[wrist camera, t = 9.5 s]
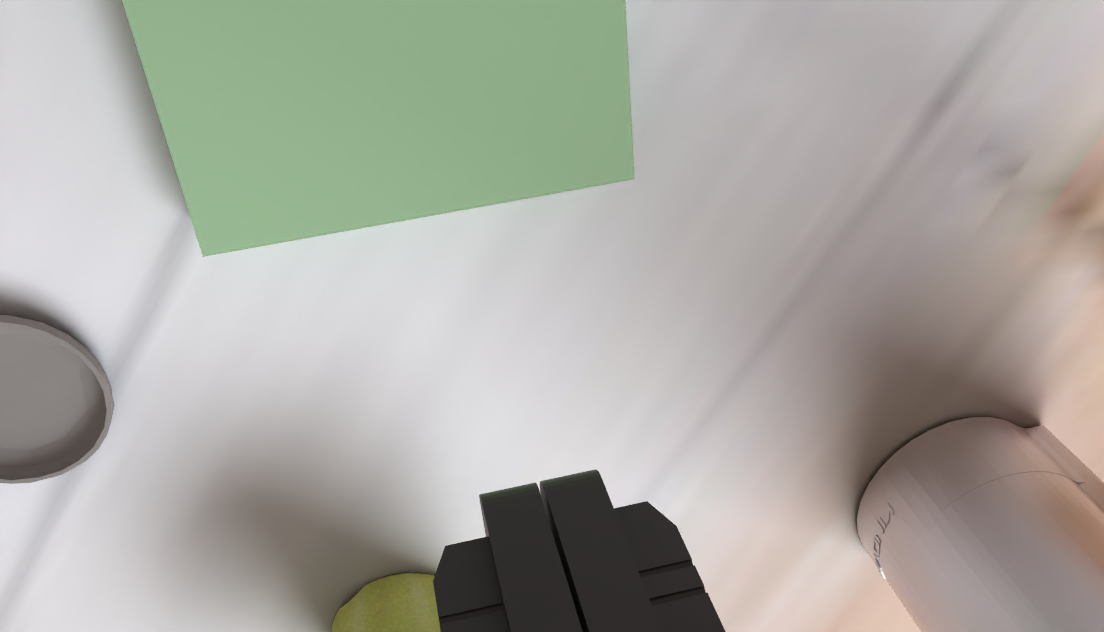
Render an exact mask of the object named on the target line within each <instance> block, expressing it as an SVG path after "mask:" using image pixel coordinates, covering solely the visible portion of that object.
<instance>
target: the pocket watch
mask: <svg viewBox="0 0 1104 632" xmlns="http://www.w3.org/2000/svg"><path fill="white" fill-rule="evenodd" d="M113 409H114V402H113V397H112V389H111V385H110V383H109V380H108V377H107V375H106V372H105V371H104V369H103V368H102V366H101V365H100V363H99V362H98V360H97V359H96V357H95V356H93V355H92V354H91V353H90V352H89V351H88V350H87V349H86V348H85V347H84V346H83V345H82V344H81V343H79V342H78V341H77V340H75V339H74V338H72V337H71V336H69V335H68V334H66V333H65V332H62V331H60V330H58V329H56V328H54V327H52V326H49V325H47V324H45V323H43V322H39V321H35V320H30V319H25V318H21V317H16V316H12V315H0V483H11V484H12V483H31V482H35V481H39V480H43V479H47V478H51V477H55V476H58V475H62V474H64V473H65V472H67V471H69V470H71V469H73V468H75V467H77V466H78V465H80V464H82V463H83V462H85V461H86V460H87V459H88V458H89V457H90V456H91V455H92V454H93V453H94V452H95V451H96V450H97V449H98V448H99V447H100V445H101V444H102V442H103V440H104V439H105V437H106V435H107V432H108V429H109V426H110V423H111V419H112V414H113Z"/></svg>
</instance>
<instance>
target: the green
mask: <svg viewBox="0 0 1104 632" xmlns="http://www.w3.org/2000/svg"><path fill="white" fill-rule="evenodd" d="M122 3H123V6H124V9H125V12H126V15H127V18H128V22H129V25H130V28H131V31H132V34H133V37H134V41H135V44H136V47H137V50H138V53H139V56H140V59H141V63H142V66H143V69H144V72H145V75H146V78H147V81H148V85H149V88H150V91H151V94H152V97H153V100H154V104H155V107H156V110H157V113H158V116H159V119H160V122H161V126H162V129H163V132H164V135H165V138H166V141H167V144H168V148H169V151H170V154H171V157H172V160H173V163H174V167H175V170H176V173H177V176H178V179H179V182H180V185H181V189H182V192H183V195H184V198H185V201H186V204H187V207H188V211H189V214H190V217H191V220H192V223H193V226H194V229H195V233H196V236H197V239H198V242H199V245H200V248H201V252H202V255H203V257H204V256H209V255H215V254H221V253H226V252H232V251H237V250H243V249H248V248H254V247H259V246H265V245H271V244H276V243H282V242H287V241H293V240H298V239H304V238H309V237H315V236H321V235H326V234H332V233H337V232H343V231H348V230H354V229H360V228H365V227H371V226H376V225H382V224H387V223H393V222H398V221H404V220H410V219H415V218H421V217H426V216H432V215H437V214H443V213H448V212H454V211H460V210H465V209H471V208H476V207H482V206H487V205H493V204H499V203H504V202H510V201H515V200H521V199H526V198H532V197H537V196H543V195H549V194H554V193H560V192H565V191H571V190H576V189H582V188H587V187H593V186H599V185H604V184H610V183H615V182H621V181H626V180H632V179H634V163H633V144H632V124H631V105H630V85H629V65H628V46H627V26H626V7H625V0H122Z"/></svg>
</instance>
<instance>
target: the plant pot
mask: <svg viewBox="0 0 1104 632" xmlns="http://www.w3.org/2000/svg"><path fill="white" fill-rule="evenodd" d="M434 577H435V576H433V575H428V574H421V573H404V574H397V575H392V576H388V577H384V578H381V579H378V580H375V581H373V582H371V583H369V584H367V585H365V586H364V587H363V588H362V589H361V590H360V591H359V592H358V593H357V594H356V595H355V596H354V597H353V598H352V599H351V600H350V601H349V602H348V603H346V604H345V605H344V606H342V607H341V608H339V610H338V612H337V614H336V616H335V618H334V621H333V625H332V632H441V631H440V623H439V618H438V611H437V605H436V598H435V591H434V585H433V580H434Z"/></svg>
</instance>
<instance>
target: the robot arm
mask: <svg viewBox="0 0 1104 632" xmlns="http://www.w3.org/2000/svg"><path fill="white" fill-rule="evenodd" d="M540 493H541V494H540ZM479 497H480V504H481V510H482V516H483V521H484V527H485V533H486V537H484V538H479V539H475V540H470V541H466V542H461V543H457V544H452V545H448V546H445V548H444V551H443V554H442V557H441V560H440V563H439V565H438V568H437V571H436V574H435V577H434V580H433V585H434V591H435V598H436V605H437V611H438V618H439V623H440V631H441V632H725V630H724V628H723V625H722V623H721V621H720V619H719V617H718V615H717V613H716V610H715V608H714V606H713V604H712V602H711V600H710V597H709V595H708V593H706V592H705V589H704V585H703V582H702V580H701V578H700V576H699V574H698V572H697V569H696V567H695V565H694V566H693V564H692V559H691V557H690V554H689V552H688V550H687V548H686V546H685V544H684V541H683V539H682V537H681V535H680V533H679V531H678V529H677V526H676V525H674V524H673V523H672V522H671V521H670V520H668V519H667V518H666V517H665V516H664V515H663V514H661V513H660V512H659V511H658V510H657V509H656V508H654V507H653V506H652V505H651V504H650V503H648V502H647V501H646V502H642V503H637V504H633V505H628V506H624V507H619V508H613V506H612V503H611V501H610V498H609V496H608V493H607V491H606V488H605V485H604V483H603V480H602V478H601V476H600V474H599V472H598V471H597V470H591V471H586V472H582V473H577V474H572V475H568V476H563V477H558V478H554V479H549V480H544V481H540V491H539V488H538V486H537V484H536V483H532V484H527V485H522V486H518V487H513V488H508V489H504V490H499V491H494V492H490V493H485V494H480V495H479ZM857 531H858V534H859V537H860V540H861V543H862V545H863V546H864V548H865V549H866V551H867V552H868V554H869V555H870V556H871V558H872V559H873V561H874V562H875V564H876V566H877V568H878V570H879V572H880V573H881V575H882V576H883V577H884V579H886V580H887V582H888V583H889V584H890V586H891V587H892V589H893V590H894V592H895V593H896V595H897V596H898V598H899V599H900V600H901V602H902V603H903V605H904V607H905V608H906V610H907V611H908V613H909V614H910V616H911V617H912V618H913V620H914V621H915V623H916V624H917V626H918V627H919V629H920V630H921V632H1104V483H1103V482H1102V481H1101V480H1100V479H1099V478H1098V477H1097V476H1096V475H1095V474H1094V473H1093V472H1092V471H1091V470H1090V469H1089V468H1088V467H1087V466H1086V465H1085V464H1083V463H1082V462H1081V461H1080V460H1079V459H1078V458H1077V457H1076V456H1075V455H1074V454H1073V453H1072V452H1071V451H1070V450H1069V449H1068V448H1067V447H1066V446H1064V445H1063V444H1062V443H1061V442H1060V441H1059V440H1058V439H1057V438H1056V437H1055V436H1054V435H1053V434H1052V433H1051V432H1050V431H1049V430H1048V429H1047V428H1046V427H1044V426H1037V427H1032V428H1022V427H1019V426H1017V425H1015V424H1013V423H1011V422H1009V421H1006V420H1003V419H998V418H992V417H970V418H965V419H961V420H956V421H951V422H949V423H946V424H943V425H941V426H938V427H936V428H933V429H931V430H929V431H927V432H925V433H923V434H922V435H920V436H918V437H916V438H915V439H913V440H911V441H910V442H909V443H907V444H906V445H905V446H903V447H902V448H901V449H899V450H898V451H897V452H896V453H894V454H893V455H892V456H891V457H890V458H889V459H888V460H887V461H886V463H885V464H884V465H883V466H882V467H881V468H880V469H879V470H878V472H877V473H876V474H875V476H874V477H873V479H872V480H871V481H870V483H869V484H868V486H867V488H866V490H865V493H864V495H863V497H862V499H861V501H860V506H859V510H858V515H857Z"/></svg>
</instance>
